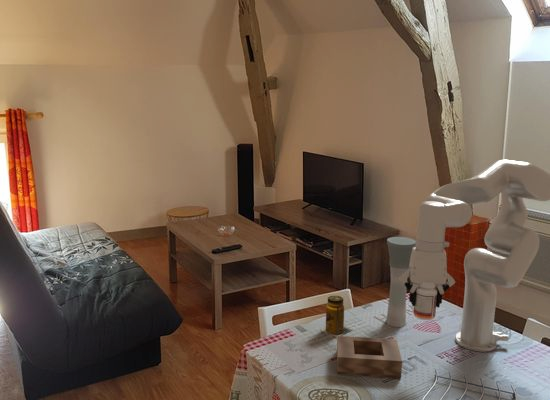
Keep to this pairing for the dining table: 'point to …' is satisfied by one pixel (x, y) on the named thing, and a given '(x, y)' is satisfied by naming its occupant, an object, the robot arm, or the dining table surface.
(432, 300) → the pill bottle
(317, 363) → the dining table surface
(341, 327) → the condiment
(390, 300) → the container
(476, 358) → the dining table surface
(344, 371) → the well block
